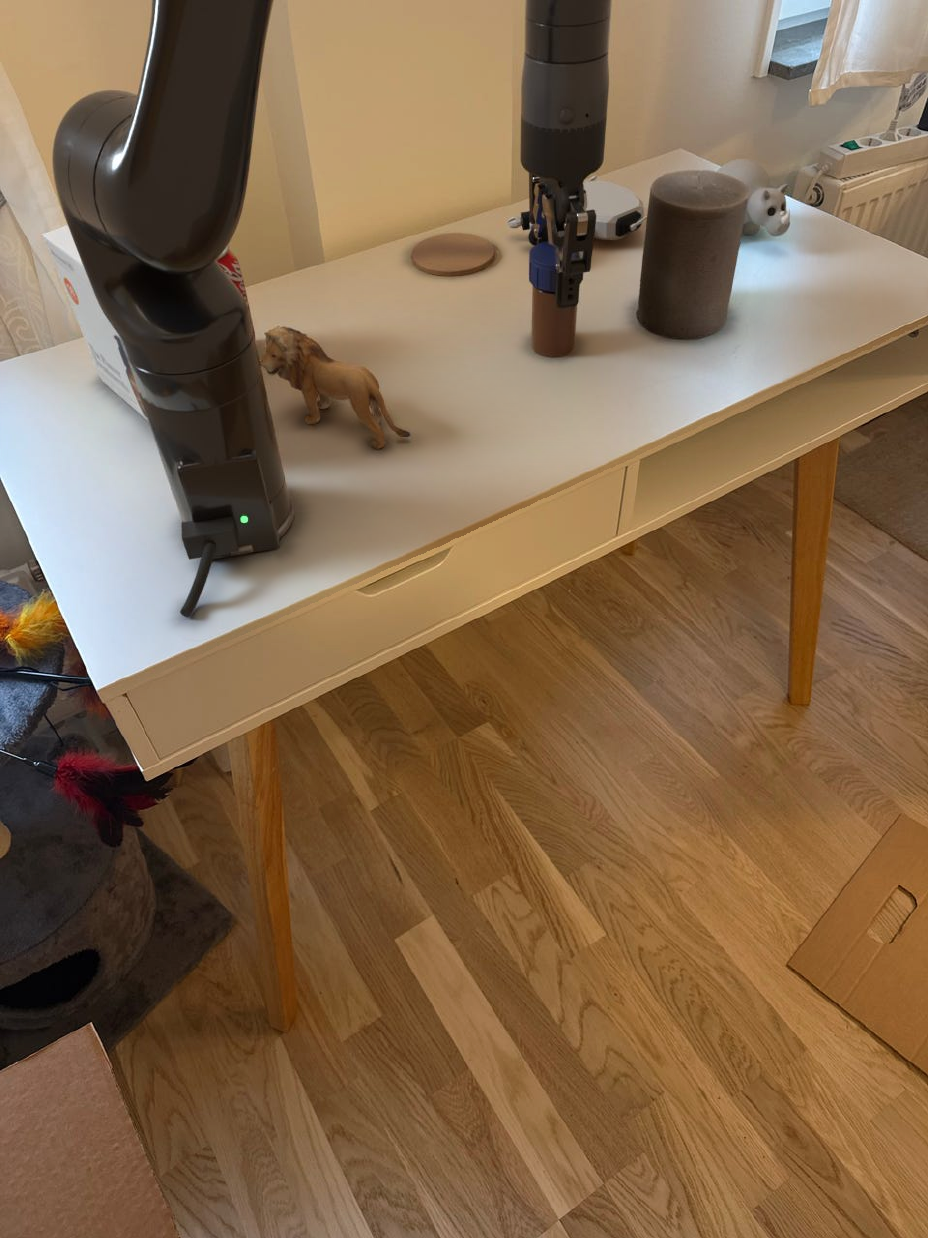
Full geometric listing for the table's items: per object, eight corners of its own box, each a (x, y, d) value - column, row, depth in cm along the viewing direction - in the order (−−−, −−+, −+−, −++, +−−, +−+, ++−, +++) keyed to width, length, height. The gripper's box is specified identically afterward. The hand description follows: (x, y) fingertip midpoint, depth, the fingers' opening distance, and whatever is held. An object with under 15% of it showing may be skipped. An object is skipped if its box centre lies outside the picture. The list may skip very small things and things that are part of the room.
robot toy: (560, 281, 109) (660, 238, 114) (559, 244, 106) (662, 201, 110) (502, 242, 117) (598, 203, 121) (500, 207, 113) (599, 167, 117)
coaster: (502, 269, 110) (502, 264, 110) (420, 280, 109) (419, 276, 109) (483, 233, 117) (483, 228, 116) (405, 243, 116) (404, 238, 115)
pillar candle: (631, 335, 99) (646, 192, 88) (641, 291, 106) (656, 152, 95) (724, 344, 97) (751, 198, 86) (729, 298, 104) (755, 157, 93)
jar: (580, 353, 97) (586, 266, 90) (538, 359, 96) (540, 273, 90) (567, 331, 100) (571, 246, 93) (526, 337, 100) (527, 252, 93)
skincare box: (95, 383, 96) (39, 231, 85) (142, 363, 99) (94, 212, 87) (199, 474, 85) (151, 314, 74) (250, 449, 88) (211, 290, 76)
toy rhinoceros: (755, 267, 108) (770, 192, 102) (689, 228, 116) (699, 157, 109) (801, 251, 111) (819, 177, 104) (734, 214, 118) (747, 143, 112)
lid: (581, 265, 95) (582, 239, 93) (583, 291, 91) (585, 264, 89) (528, 266, 95) (528, 240, 93) (529, 292, 91) (529, 265, 89)
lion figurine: (264, 422, 91) (245, 338, 84) (293, 393, 94) (276, 310, 87) (398, 456, 86) (389, 371, 79) (423, 424, 89) (417, 340, 83)
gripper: (632, 133, 77) (615, 319, 89) (580, 78, 87) (571, 253, 99) (545, 144, 76) (540, 330, 88) (502, 87, 86) (502, 262, 98)
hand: (556, 289), depth 93 cm, fingers open, 6 cm apart
